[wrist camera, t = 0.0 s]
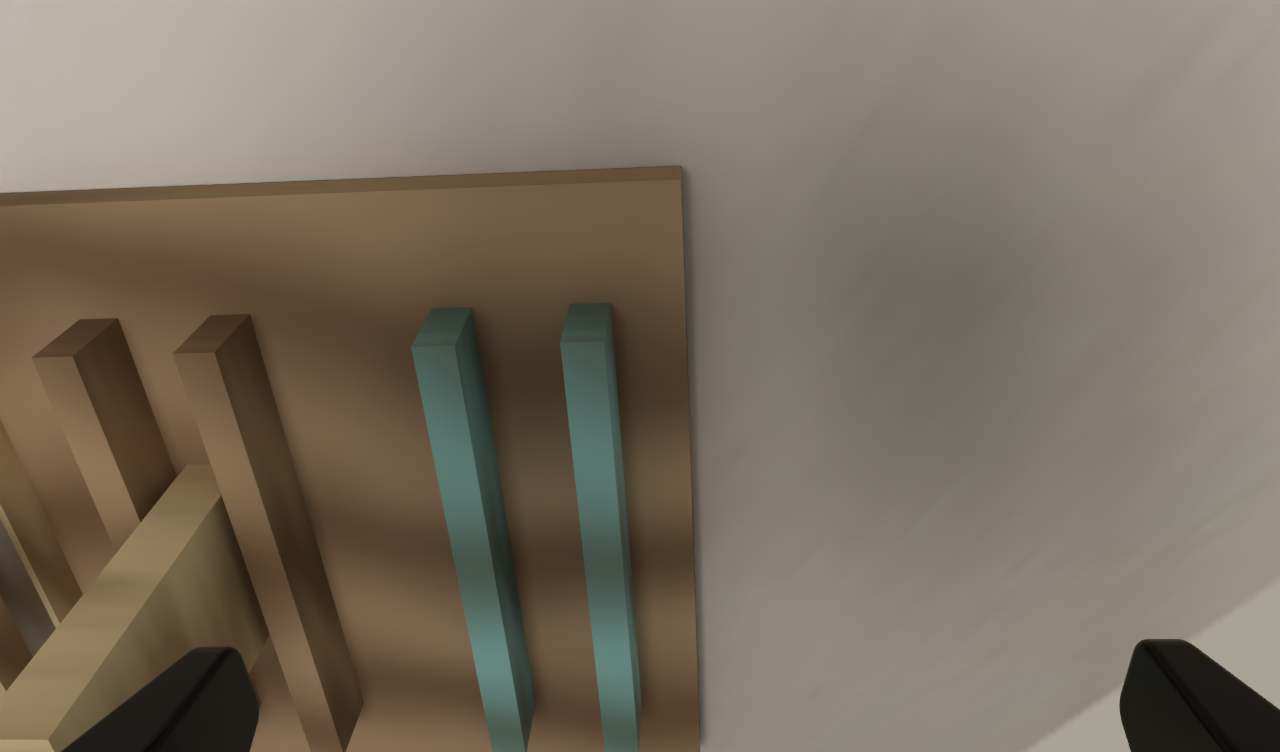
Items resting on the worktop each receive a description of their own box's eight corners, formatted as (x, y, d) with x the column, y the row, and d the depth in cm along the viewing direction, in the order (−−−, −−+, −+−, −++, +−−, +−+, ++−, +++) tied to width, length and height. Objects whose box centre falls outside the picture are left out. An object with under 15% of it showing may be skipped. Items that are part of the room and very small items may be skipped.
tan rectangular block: (288, 599, 28) (133, 894, 20) (236, 600, 28) (62, 893, 20) (243, 463, 25) (47, 739, 18) (186, 464, 25) (-33, 739, 18)
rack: (700, 739, 32) (701, 819, 29) (28, 739, 33) (-28, 816, 31) (681, 165, 22) (680, 210, 19) (-278, 204, 23) (-398, 250, 21)
